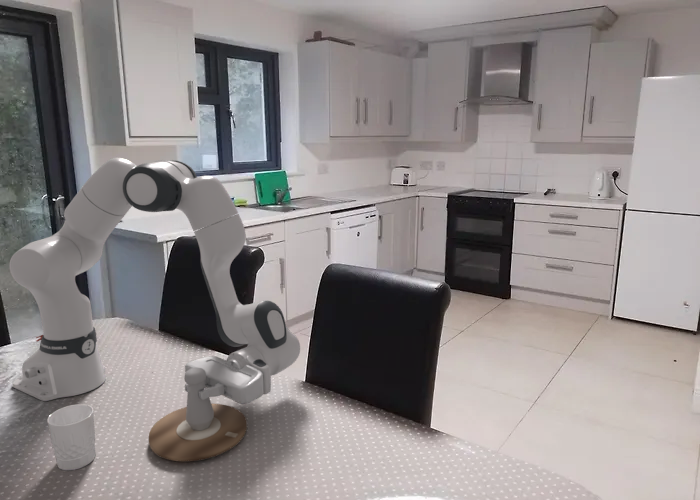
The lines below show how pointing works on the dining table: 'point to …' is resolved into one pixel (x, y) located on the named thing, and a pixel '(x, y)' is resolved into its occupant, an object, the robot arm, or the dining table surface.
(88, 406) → the white cup
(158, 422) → the turntable
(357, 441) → the dining table surface
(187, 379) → the salt shaker
